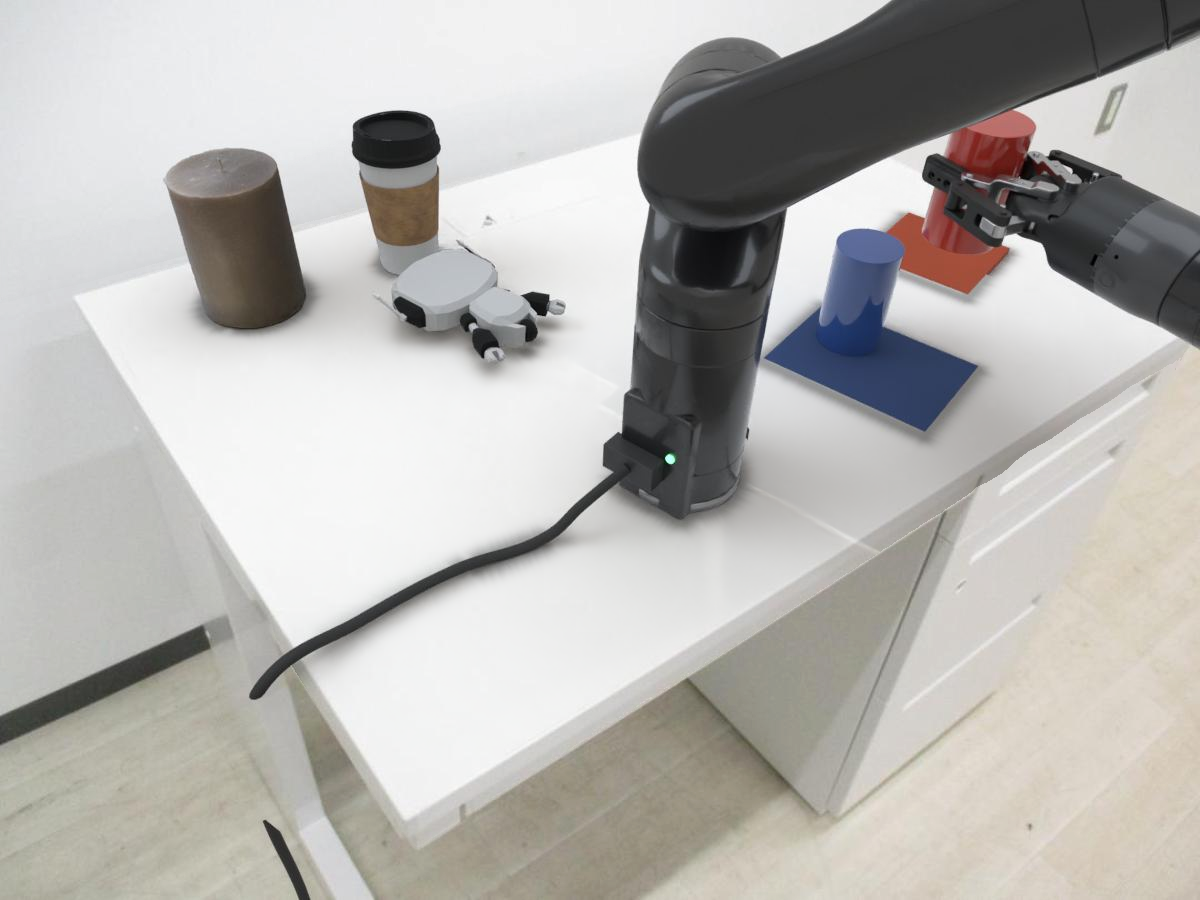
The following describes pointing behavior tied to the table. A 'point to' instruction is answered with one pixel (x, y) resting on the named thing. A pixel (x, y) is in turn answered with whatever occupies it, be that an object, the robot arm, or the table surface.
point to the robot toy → (468, 301)
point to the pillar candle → (237, 236)
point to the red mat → (942, 257)
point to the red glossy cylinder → (984, 153)
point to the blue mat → (879, 372)
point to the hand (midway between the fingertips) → (956, 157)
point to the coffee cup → (400, 184)
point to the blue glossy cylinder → (859, 291)
